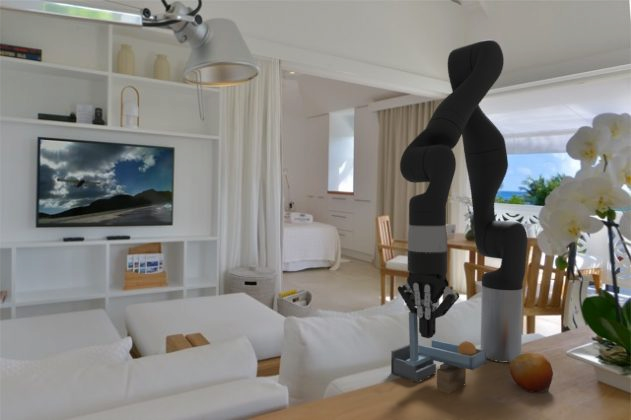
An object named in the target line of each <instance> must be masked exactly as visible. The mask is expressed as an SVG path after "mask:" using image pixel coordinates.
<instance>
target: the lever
mask: <svg viewBox="0 0 631 420" xmlns="http://www.w3.org/2000/svg"><path fill="white" fill-rule="evenodd" d="M418 327H419V319H418V315H417V314H415V313H411V312H410V311H408V329H409V330H408V331H409V334H408V336H409V344H410V359H408V360H406V364H407V365H411V366H414V367H415V366H417V365H419V364H421V363H424V362H426V361H428V360H434V361H435V362H438V363H441V364H444V363H446V364H450V365H454V366H458V367H462V368H466V370H471V371H473V370H476V369H478V368H480V367H482V366H484V365H485V364H487V358H486V351H484V350H481V348H480V349H479V348H476V354H474V355H472V356H468V355H464V354H459V353H458V346H459V345H460V344H455V343H451V342H446V341H441V340H436V339H431V346H428V345H424V344H419V328H418ZM418 353H419V354H418Z"/></svg>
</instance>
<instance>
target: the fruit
mask: <svg viewBox="0 0 631 420" xmlns="http://www.w3.org/2000/svg"><path fill="white" fill-rule="evenodd" d="M508 370H509V374H510V375H511V378H512V379H513V381H514V382H515V383H516V385H517V387H518V386H519V387H520V388H521V389H522V390H524V391H526V392H528V393H542V392H547V393H549V391H550V387H551V385H552V380H553V376H554V372H553V368H552V364H551V363H550V361H549V360H548V359H547V358H546V357H545V356H544V355H541V354H539V353H535V352H528V353H527V352H525V353H521V355H519V356H517V357H516V358H515V359H513V360H512V361H511V363H509V365H508Z"/></svg>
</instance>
